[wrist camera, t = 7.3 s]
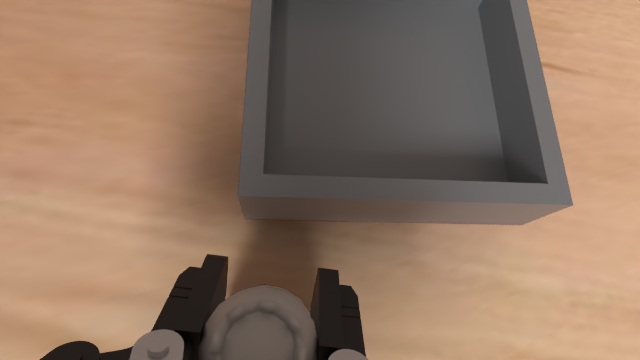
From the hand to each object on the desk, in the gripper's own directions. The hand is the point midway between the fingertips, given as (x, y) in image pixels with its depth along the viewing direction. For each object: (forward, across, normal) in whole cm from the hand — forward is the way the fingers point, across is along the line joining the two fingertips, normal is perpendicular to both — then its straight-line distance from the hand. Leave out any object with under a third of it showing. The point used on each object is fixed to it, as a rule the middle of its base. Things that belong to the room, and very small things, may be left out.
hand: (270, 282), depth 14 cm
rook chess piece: (+2, 0, +4) cm, 5 cm away
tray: (+12, -5, -5) cm, 14 cm away
